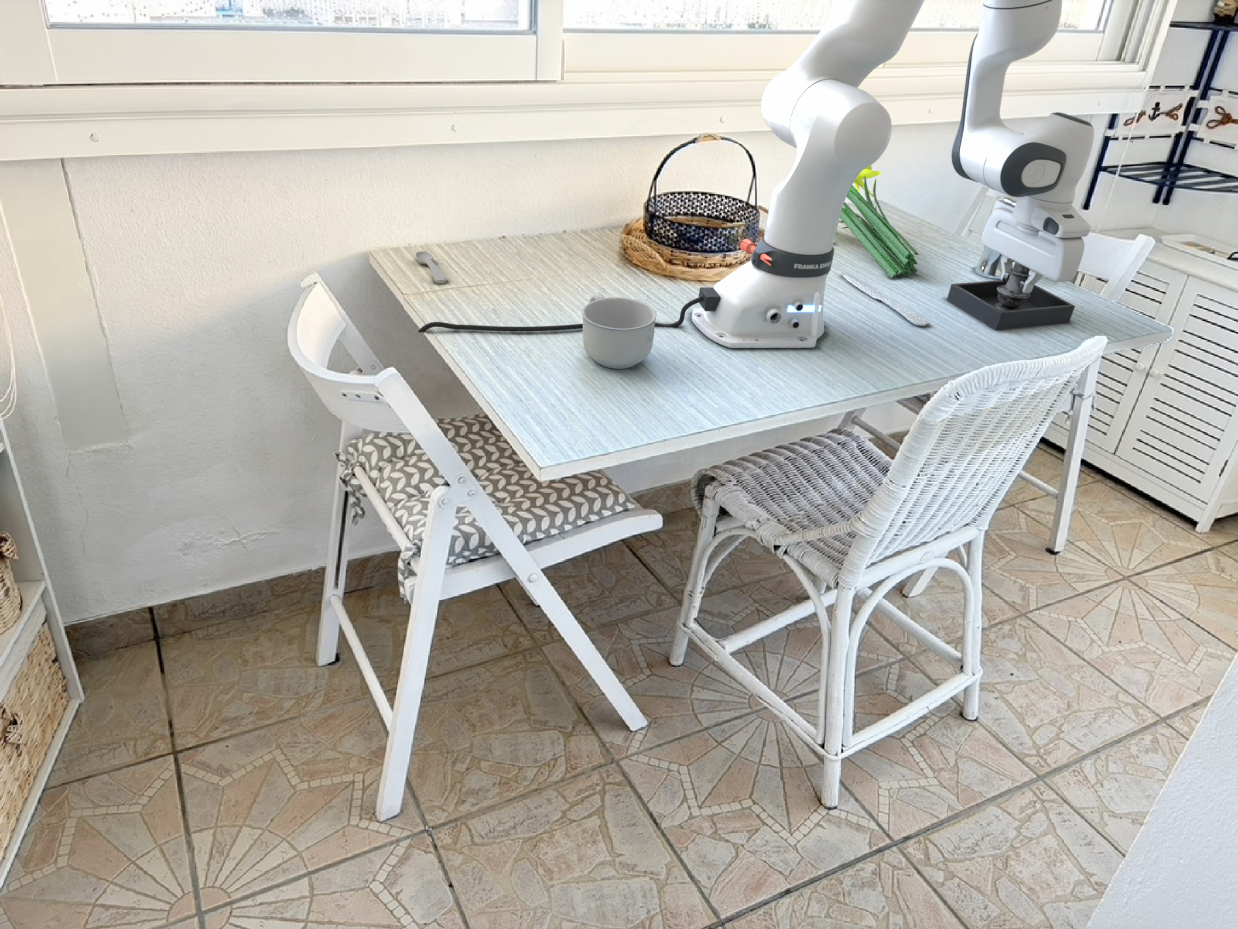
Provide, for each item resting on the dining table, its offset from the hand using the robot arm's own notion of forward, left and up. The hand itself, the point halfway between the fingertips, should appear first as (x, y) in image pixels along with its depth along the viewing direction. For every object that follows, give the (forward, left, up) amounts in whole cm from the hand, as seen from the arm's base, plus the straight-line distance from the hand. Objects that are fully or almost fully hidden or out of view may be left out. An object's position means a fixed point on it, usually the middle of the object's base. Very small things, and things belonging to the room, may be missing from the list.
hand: (1015, 286), depth 168 cm
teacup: (-80, -2, -5) cm, 80 cm away
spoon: (-99, +36, -5) cm, 106 cm away
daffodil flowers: (-9, +33, -5) cm, 35 cm away
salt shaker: (0, 0, -5) cm, 5 cm away
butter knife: (-22, +9, -5) cm, 24 cm away
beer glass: (+11, +17, -5) cm, 21 cm away
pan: (0, 0, -5) cm, 5 cm away
